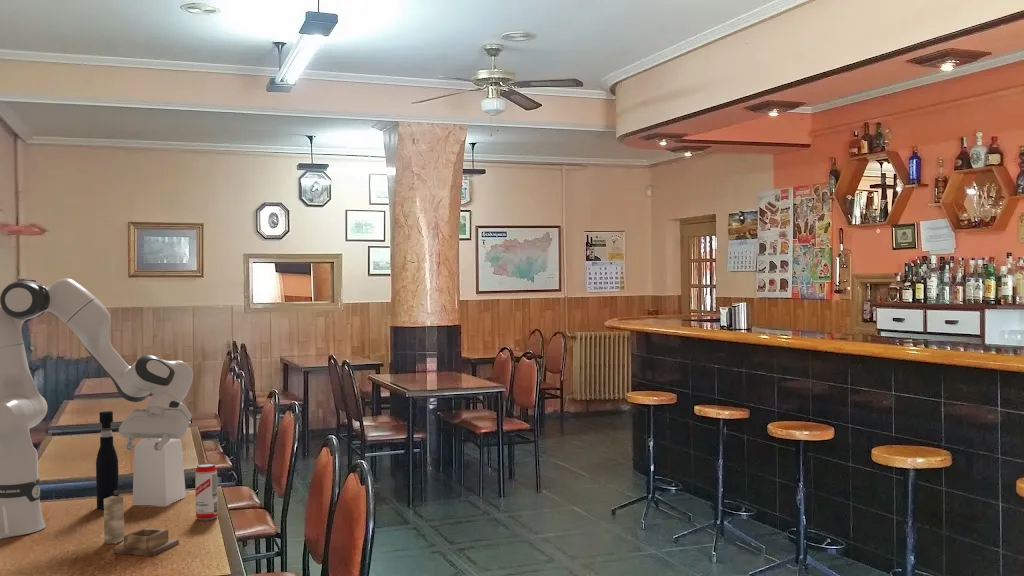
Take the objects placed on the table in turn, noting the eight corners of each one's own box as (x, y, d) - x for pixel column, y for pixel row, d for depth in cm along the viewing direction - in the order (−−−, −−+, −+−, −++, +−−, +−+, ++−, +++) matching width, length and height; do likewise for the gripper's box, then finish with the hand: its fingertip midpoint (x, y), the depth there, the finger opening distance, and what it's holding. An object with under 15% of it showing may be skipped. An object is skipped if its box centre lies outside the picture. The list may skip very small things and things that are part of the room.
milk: (166, 506, 286) (164, 424, 285) (132, 505, 287) (131, 423, 287) (185, 497, 297) (184, 418, 297) (153, 496, 299) (151, 417, 299)
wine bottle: (98, 505, 287) (96, 411, 287) (120, 503, 289) (118, 410, 289) (95, 510, 281) (93, 414, 281) (117, 508, 283) (116, 413, 283)
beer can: (211, 521, 267) (210, 467, 267) (191, 520, 268) (190, 466, 268) (222, 515, 273) (221, 462, 273) (203, 515, 274) (202, 462, 274)
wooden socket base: (113, 553, 237) (112, 537, 237) (140, 541, 248) (139, 525, 248) (153, 556, 234) (153, 540, 234) (178, 543, 245) (178, 528, 245)
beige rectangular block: (104, 543, 247) (103, 499, 246) (113, 539, 250) (112, 496, 250) (115, 543, 246) (114, 499, 246) (124, 540, 249) (123, 496, 249)
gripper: (126, 403, 269) (105, 442, 260) (187, 403, 264) (168, 443, 255) (137, 415, 274) (116, 454, 264) (197, 416, 269) (178, 455, 259)
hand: (142, 449), depth 260 cm, fingers open, 8 cm apart
